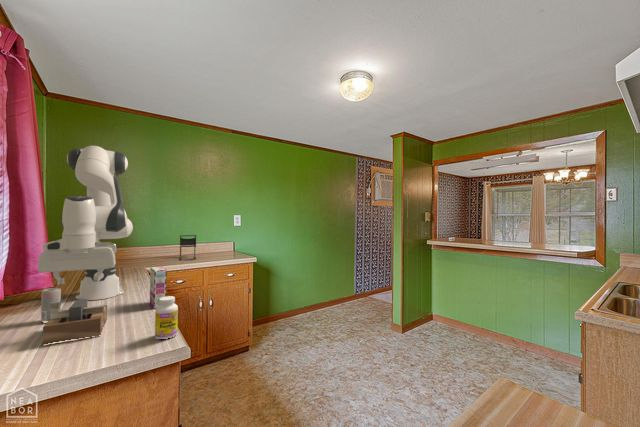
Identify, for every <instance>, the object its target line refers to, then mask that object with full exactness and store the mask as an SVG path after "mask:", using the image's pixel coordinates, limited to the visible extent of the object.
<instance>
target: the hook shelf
mask: <svg viewBox="0 0 640 427" xmlns="http://www.w3.org/2000/svg"><path fill="white" fill-rule="evenodd" d="M86 314H87V319H84V320H78V321H71V322H69V308H68V309H61V310H60V302H53V303H51V304H50V320H49V321H48V322H47V323H46V324H44V325H43V326H42V345H43V344H48V343H53V342H59V341H65V340H71V339H79V338H85V337H92V336H99V335H101V336H102V334H101V332H102V333H103V331H104V329H103V327H104V328H105V326H106V324H107V322H106V320H107V321H108V304H100V305H94V306H93V305H92V306H87V307H85V308H84V309H83V311H82V315H86ZM105 323H106V324H105ZM104 325H105V326H104ZM102 330H103V331H102Z"/></svg>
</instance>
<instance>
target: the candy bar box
mask: <svg viewBox="0 0 640 427" xmlns="http://www.w3.org/2000/svg"><path fill="white" fill-rule="evenodd" d="M149 269H150V270H149V271H150V272H149V274H150V275H149V276H150V277H149V304H150V305H151V307H152V308H153V309H154V308H157V307H158V306H159V305H160V304H159V299H160V298H162V297H166V296H167V277H168V276H167V272H168V270H167V269H166V268H164V267H163V266H154V267H150V268H149Z"/></svg>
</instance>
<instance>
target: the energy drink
mask: <svg viewBox="0 0 640 427" xmlns="http://www.w3.org/2000/svg"><path fill="white" fill-rule="evenodd" d="M40 293H41V296H40V300H41V302H40V303H41V304H40V306H41V307H40V314H41V316H40V322H41V321H49V320H50V304H51V303H53V302H60V310H62V290H61V288H60V287H52V288H51V287H50V288H45V289H42V290H41V292H40Z"/></svg>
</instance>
